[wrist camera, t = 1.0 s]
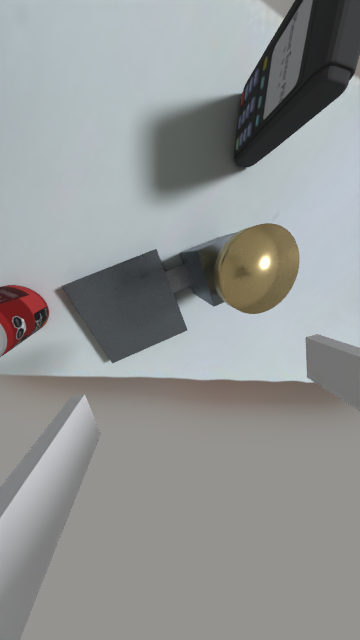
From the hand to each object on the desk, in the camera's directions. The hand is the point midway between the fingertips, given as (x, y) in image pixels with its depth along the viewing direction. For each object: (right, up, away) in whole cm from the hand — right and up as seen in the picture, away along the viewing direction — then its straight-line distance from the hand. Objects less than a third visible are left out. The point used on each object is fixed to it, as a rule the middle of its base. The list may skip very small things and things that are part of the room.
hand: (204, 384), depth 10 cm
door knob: (+5, +12, +17) cm, 21 cm away
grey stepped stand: (-5, +8, +22) cm, 24 cm away
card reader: (+9, +33, +17) cm, 38 cm away
